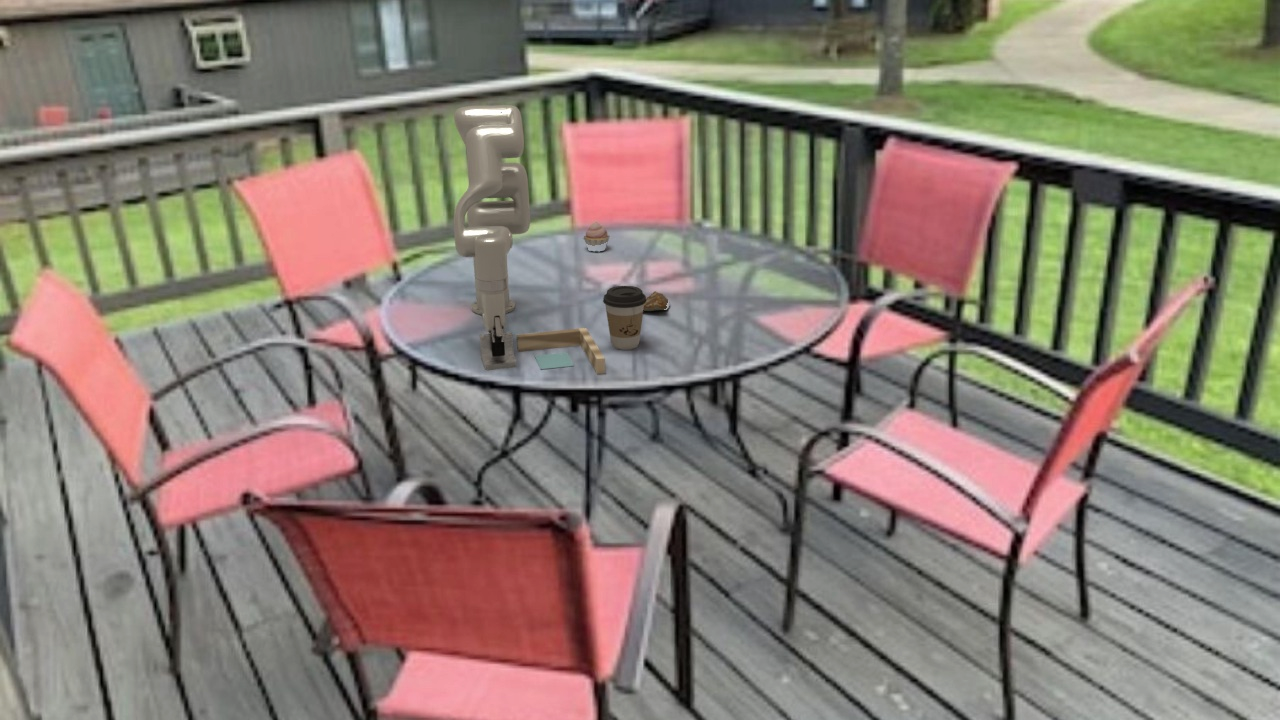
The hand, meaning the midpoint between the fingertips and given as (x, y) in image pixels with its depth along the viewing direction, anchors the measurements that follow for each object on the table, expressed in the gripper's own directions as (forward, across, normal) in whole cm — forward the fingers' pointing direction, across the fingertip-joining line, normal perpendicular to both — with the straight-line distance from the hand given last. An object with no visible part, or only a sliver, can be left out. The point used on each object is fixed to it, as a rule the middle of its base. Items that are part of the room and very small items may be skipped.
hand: (497, 351), depth 254 cm
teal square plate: (+2, +5, +14) cm, 15 cm away
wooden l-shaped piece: (+2, +5, +15) cm, 16 cm away
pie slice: (+3, -27, +49) cm, 56 cm away
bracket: (+2, +3, 0) cm, 4 cm away
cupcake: (+3, -89, +46) cm, 101 cm away
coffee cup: (+3, -1, +34) cm, 34 cm away
